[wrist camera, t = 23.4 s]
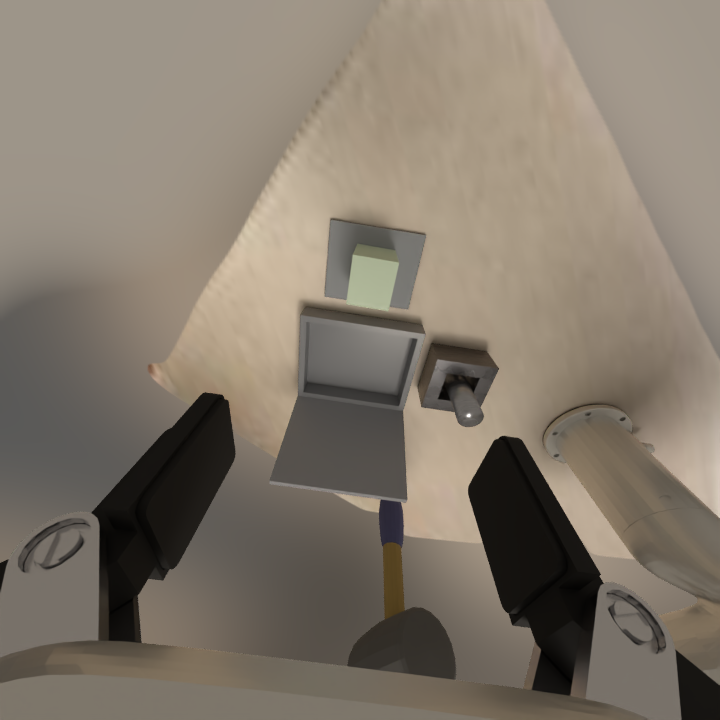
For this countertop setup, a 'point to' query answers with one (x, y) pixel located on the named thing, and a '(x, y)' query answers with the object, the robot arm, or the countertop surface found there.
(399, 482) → the lid
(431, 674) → the rubber mallet
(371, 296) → the block
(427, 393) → the square socket block
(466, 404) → the rod
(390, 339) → the case
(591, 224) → the countertop surface
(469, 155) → the countertop surface
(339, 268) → the mat
